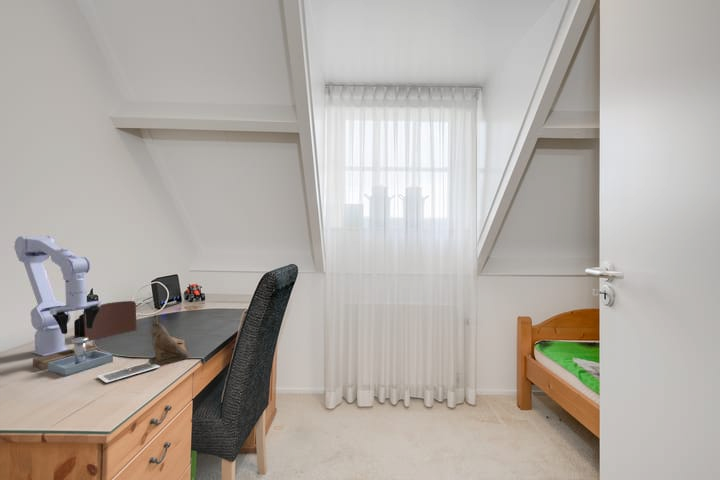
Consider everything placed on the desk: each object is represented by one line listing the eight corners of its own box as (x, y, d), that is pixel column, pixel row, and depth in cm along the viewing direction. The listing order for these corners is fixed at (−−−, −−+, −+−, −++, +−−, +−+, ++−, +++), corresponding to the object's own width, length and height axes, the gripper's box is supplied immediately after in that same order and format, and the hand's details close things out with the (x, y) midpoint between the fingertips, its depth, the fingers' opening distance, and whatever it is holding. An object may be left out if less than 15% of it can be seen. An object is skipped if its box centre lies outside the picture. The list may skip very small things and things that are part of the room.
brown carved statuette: (151, 374, 116) (137, 322, 113) (149, 368, 120) (135, 319, 117) (190, 359, 123) (177, 310, 120) (186, 354, 127) (174, 307, 124)
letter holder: (137, 330, 159) (136, 299, 159) (84, 342, 142) (83, 307, 142) (125, 327, 164) (125, 297, 164) (74, 338, 147) (73, 304, 147)
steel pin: (69, 365, 116) (68, 340, 115) (84, 360, 120) (83, 336, 119) (76, 367, 114) (75, 342, 113) (91, 362, 118) (91, 338, 117)
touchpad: (160, 369, 114) (160, 363, 114) (106, 386, 102) (106, 378, 102) (150, 364, 119) (149, 358, 119) (96, 379, 107) (96, 372, 107)
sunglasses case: (189, 353, 127) (178, 339, 125) (170, 367, 124) (159, 352, 122) (185, 340, 143) (175, 327, 141) (168, 352, 140) (158, 339, 138)
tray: (47, 370, 113) (47, 362, 113) (95, 356, 125) (95, 349, 125) (65, 376, 108) (65, 368, 108) (112, 361, 120) (112, 354, 120)
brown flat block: (33, 366, 116) (32, 358, 116) (87, 351, 131) (87, 344, 131) (44, 370, 113) (44, 362, 113) (99, 354, 128) (99, 347, 127)
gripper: (57, 296, 116) (58, 337, 116) (105, 289, 129) (106, 326, 129) (46, 295, 119) (47, 335, 119) (94, 288, 132) (95, 324, 132)
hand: (77, 330), depth 124 cm, fingers open, 7 cm apart
